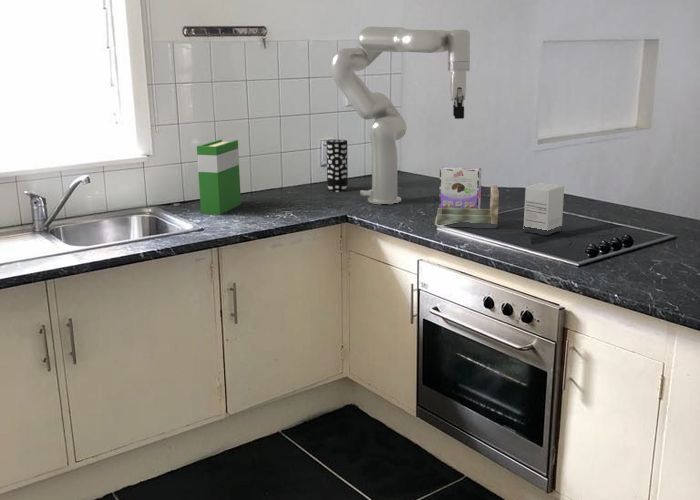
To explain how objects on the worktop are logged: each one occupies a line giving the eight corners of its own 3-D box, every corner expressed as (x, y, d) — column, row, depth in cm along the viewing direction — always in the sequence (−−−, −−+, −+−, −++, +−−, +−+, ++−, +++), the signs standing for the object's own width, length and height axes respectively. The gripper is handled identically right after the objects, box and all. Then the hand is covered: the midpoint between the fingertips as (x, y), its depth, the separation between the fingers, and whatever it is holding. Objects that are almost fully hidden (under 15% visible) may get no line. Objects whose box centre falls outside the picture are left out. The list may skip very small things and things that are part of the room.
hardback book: (222, 203, 285) (219, 139, 278) (240, 204, 283) (237, 140, 276) (200, 213, 268) (196, 146, 262) (219, 214, 266) (216, 146, 260)
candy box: (480, 213, 265) (482, 167, 261) (477, 217, 260) (479, 170, 255) (441, 211, 269) (443, 165, 265) (438, 214, 264) (439, 168, 260)
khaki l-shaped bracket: (435, 227, 247) (435, 191, 243) (435, 218, 258) (436, 184, 255) (497, 229, 244) (498, 192, 241) (495, 220, 255) (496, 185, 252)
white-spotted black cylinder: (347, 192, 303) (347, 142, 298) (326, 192, 303) (326, 142, 298) (347, 188, 311) (347, 139, 306) (327, 188, 311) (326, 139, 306)
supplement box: (537, 226, 246) (540, 181, 242) (562, 231, 240) (565, 185, 236) (522, 232, 240) (524, 185, 236) (546, 237, 234) (550, 189, 230)
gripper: (446, 66, 268) (446, 115, 273) (448, 68, 252) (448, 119, 256) (468, 66, 268) (467, 114, 272) (471, 67, 251) (471, 119, 255)
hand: (458, 117), depth 264 cm, fingers open, 9 cm apart
